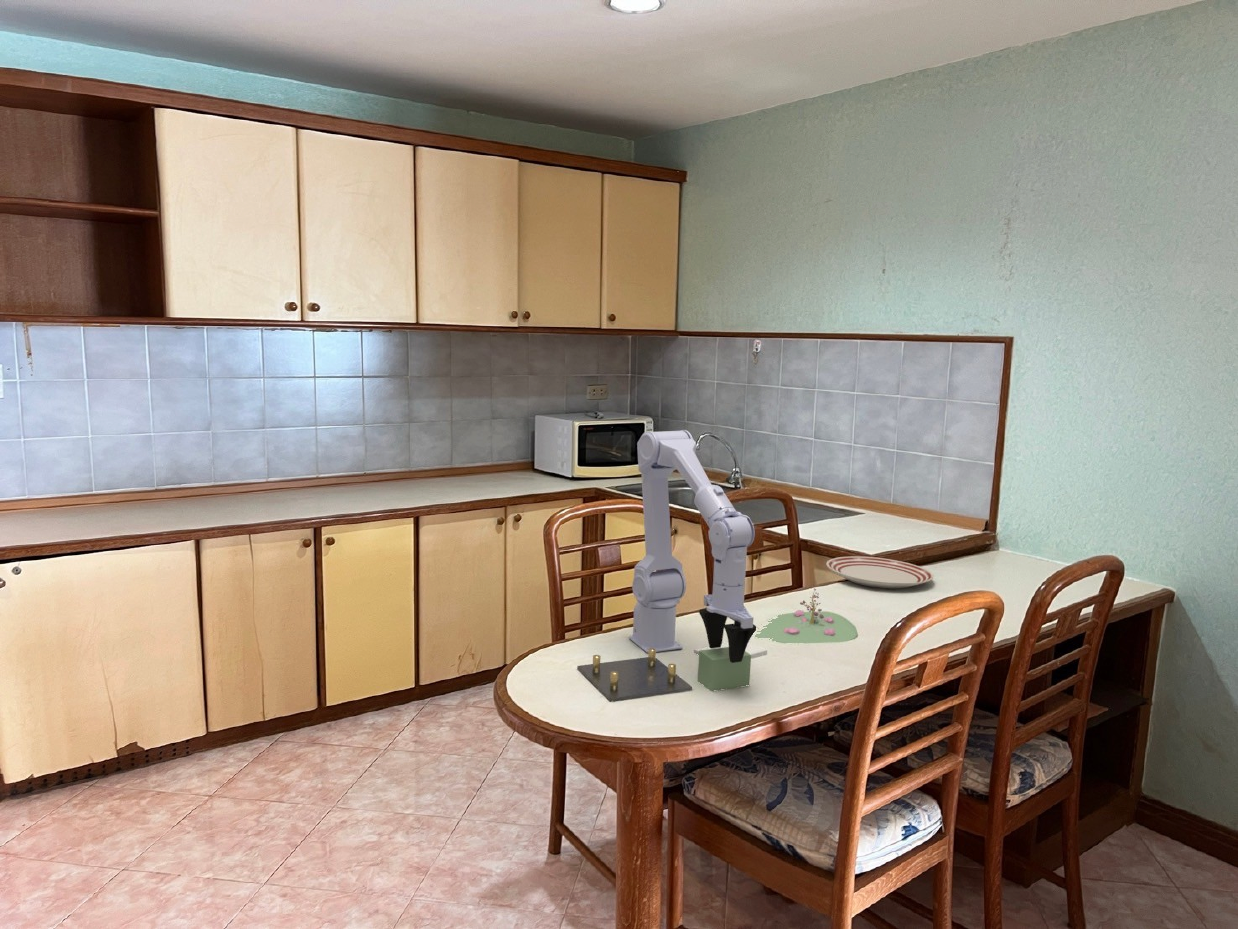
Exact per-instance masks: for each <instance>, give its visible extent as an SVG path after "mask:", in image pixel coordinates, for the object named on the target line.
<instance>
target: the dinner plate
mask: <svg viewBox="0 0 1238 929" xmlns="http://www.w3.org/2000/svg"><path fill="white" fill-rule="evenodd" d="M826 566H827V568H828V570H830V571H831V572H833V573H834V574H835V575H838V576H840V577H842V578H844V579H846V580H847V581H849V582H852V583H855V584H858V585H861V586H866V587H871V588H880V589H905V588H910V587H914V586H915V587H916V586H918V585H922V584H925V583H927V582H929V581H932V580H933V579H934V574H933V573H932V571H930V570H928V569H926V568H924V567H922V566H919V565H916V564H913V563H909V562H905V561H900V560H895V559H889V558H882V557H875V556H874V557H873V556H861V555H860V556H859V555H858V556H854V555H853V556H840V557H834V558H832V559H829V560H827V561H826Z"/></svg>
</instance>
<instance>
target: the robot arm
mask: <svg viewBox="0 0 1238 929" xmlns="http://www.w3.org/2000/svg"><path fill="white" fill-rule="evenodd" d="M636 445H637V448H636V449H637V462H638V463H637V464H638V472H639V473H640V474H641V486H642V487H641V489H642V490H641V491H642V492H641V494H642V508H643V511H642V512H643V528H644V544H645V546H644V548H645V556H644V557H643V558H642V559H641V560H640V561H639V562H638V563H636V565H634V569H633V570H634V574H633V580H632V585H631V586H632V587H631V588H632V594H633V596H634V598H635V599H636V603H635V605H634V608H633V620H632V622H633V624H632V635H628V639H630V640H631V641H632V642H633V643H634V644H636V645H637V646H638V647H639V648H641V649H642V650H644V652H646V654H647V653H649V649H650V648H654V649H656V653H658V652H667V651H674V650H681V649H683V646H682V645H681V643H678V642H677V641H676V640H675V639H676V637H675V636H676V623H677V622H676V620H677V619H676V618H677V605H678V604H680V600H681V599H682V598H683V597H684V596H685V593H686V590H687V581H686V577H685V574H684V570H683V563H682V562H681V561H680V560H679V559H677V558H676V557H675V556H674V555H673V553H672V537H671V534H672V533H671V517H670V515H671V514H670V499H669V498H670V497H669V477H670V476H671V475H672V473H673V472H674V471H678V473H679V474H680V475H681V477H682V478H683V479H684V481H685V482H686V484H688V486H689V487H690V488H691V490H692V492H694V494H695V496H694V500H693V503H694V505H695V506H696V508H697V510H698V512H699V513H700V515H701V516H702V518H703V520H704V522H705V523H706V524H707V526H708V527H709V529H708V540H709V543H710V546H711V555H712V557H713V558H714V559H713V578H712V579H713V581H712V594H704V595H703V606H704V607H705V608H703V609H699V611H698V613H699V615H700V617H701V620H702V622H703V624H704V628H705V631H706V637H707V638H706V639H707V642H708V646H709V647H710V648H719V647H721V644H722V643H723V638H724V630H725V633H726V636H727V637H726V638H727V641H728V643H729V658H730V662H732V663H735V662H741V661H742V659H743V656H744V653H745V650H746V647H747V644H748V642H750V640H751V638H752V637H753V636H752V635H753V633H754V632H755V631H756V628H757V626H756V625H755V624H754V617H753V616H752V615H751V614H750V612H749V611H748V610H747V608H746V606H745V588H746V586H745V585H746V573H747V572H746V570H747V551H748V547H751V545H752V544H753V542H754V540H755V534H756V532H755V526H754V524H753V521H752V520H751V518H750V517H749V516H748V515H746V514H742V513H741V512H740V511H737V510H736V508H735V507H734V505H733V503H732V502H731V501H730V499H729V498H728V496H727V495H726V493H725V491H724V490H723V488H722V487H721V486H719V485H717V484H716V485H715V484H712V483H711V481H710V479H709V477H708V475H707V474H706V472H705V469H704V468H703V466H702V464H701V462H700V460H699V458H698V456H697V455H696V454H697V442H696V441H695V440H694V437H693V436H692V434H691V433H690V431H688V430H687V429H681V430H669V431H667V430H666V431H665V430H663V431H651V430H647V431H645V432H643V433H642V435H641V436H640V438H639V439H638V441H637V443H636ZM727 619H730V620H732V621H733V623H727Z"/></svg>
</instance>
